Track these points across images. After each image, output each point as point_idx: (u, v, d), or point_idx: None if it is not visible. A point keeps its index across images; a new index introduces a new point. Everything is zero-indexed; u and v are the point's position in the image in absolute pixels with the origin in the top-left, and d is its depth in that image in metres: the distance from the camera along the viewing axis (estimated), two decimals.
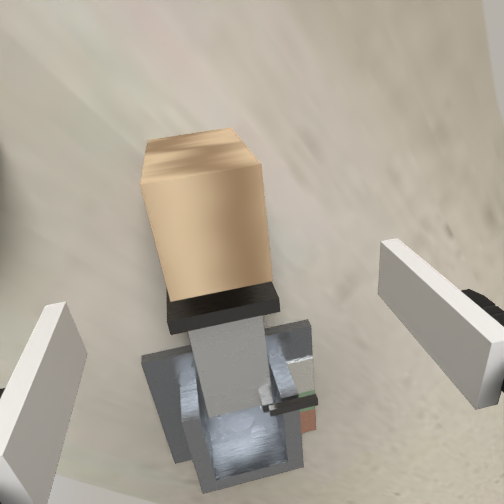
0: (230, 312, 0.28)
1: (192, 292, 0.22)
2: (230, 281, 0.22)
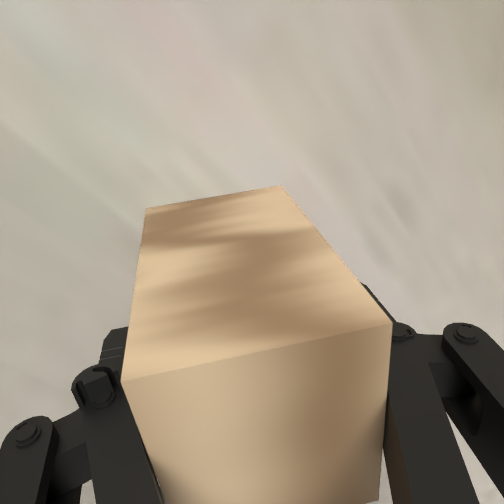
0: None
1: None
2: None
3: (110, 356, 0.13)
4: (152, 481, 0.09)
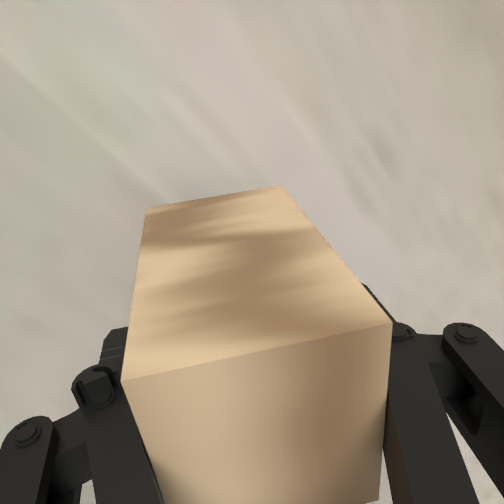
0: None
1: None
2: None
3: (110, 356, 0.13)
4: (152, 481, 0.09)
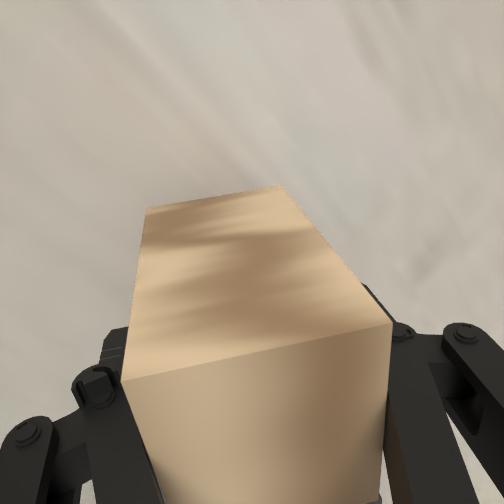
0: None
1: None
2: None
3: (110, 356, 0.13)
4: (152, 481, 0.09)
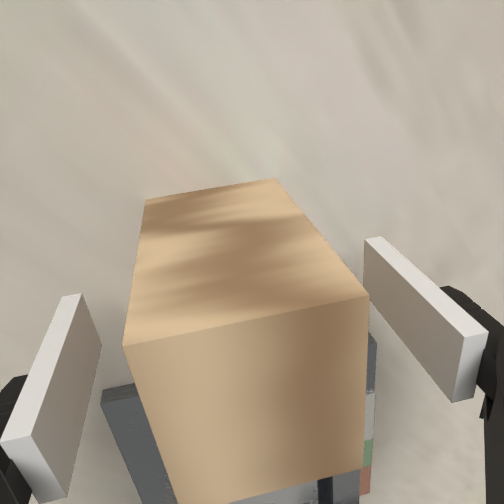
0: None
1: (221, 498, 0.12)
2: (290, 476, 0.12)
3: (1, 412, 0.11)
4: None
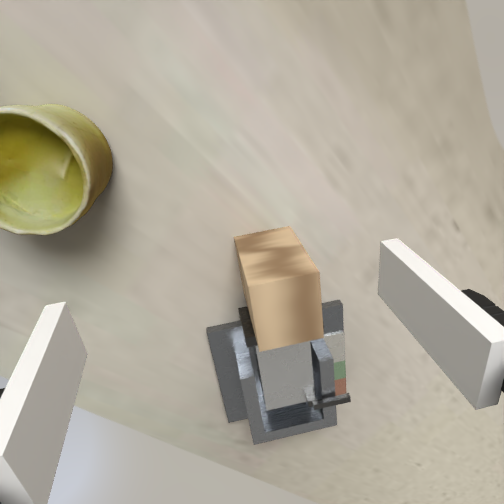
0: None
1: (273, 345, 0.35)
2: (297, 338, 0.35)
3: None
4: None
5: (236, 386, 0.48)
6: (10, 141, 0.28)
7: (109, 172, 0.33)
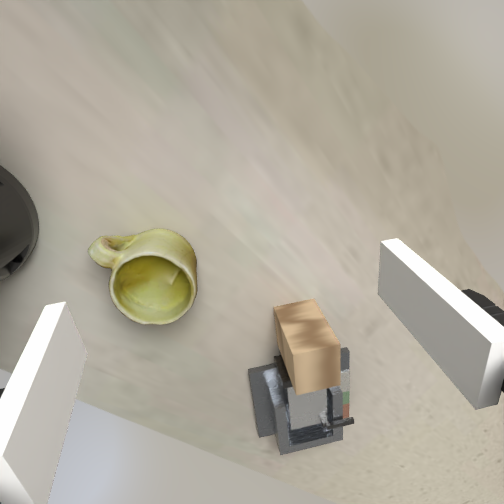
0: None
1: (305, 391, 0.50)
2: (322, 386, 0.50)
3: None
4: None
5: (267, 411, 0.64)
6: (140, 264, 0.43)
7: None
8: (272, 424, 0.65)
